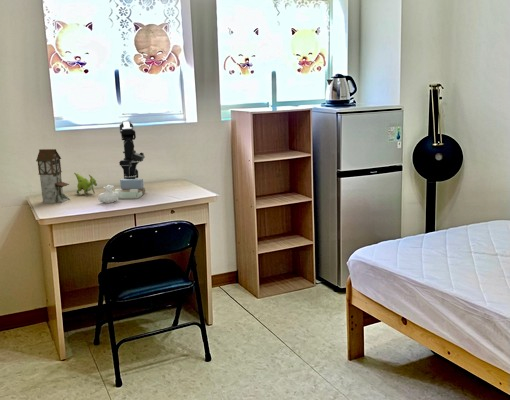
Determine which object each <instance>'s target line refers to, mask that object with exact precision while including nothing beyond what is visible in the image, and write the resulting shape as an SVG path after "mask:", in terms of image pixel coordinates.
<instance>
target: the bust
mask: <svg viewBox="0 0 510 400" xmlns="http://www.w3.org/2000/svg"><path fill="white" fill-rule="evenodd" d="M102 187H103V189H105V192H101V193H99V194H98V195H97V198H98V200H99V202H100V203H107V204H112V203H114V202H115V201H118V200H119V199H118V198H119V193H118V192H114V188H115V186H114V185H111V184H107V185H106V186H102Z"/></svg>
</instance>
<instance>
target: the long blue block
mask: <svg viewBox="0 0 510 400" xmlns="http://www.w3.org/2000/svg"><path fill="white" fill-rule="evenodd" d="M119 182H120V183H119V184H120V189H143V188H145V187H144V179H143V178H135V179H124V178H123V179H120V180H119Z"/></svg>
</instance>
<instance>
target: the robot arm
mask: <svg viewBox="0 0 510 400" xmlns="http://www.w3.org/2000/svg"><path fill="white" fill-rule="evenodd" d="M119 134H120V135H121V141H123V151H122V153H123V154H124V158H123V159H121V160H120V161H119V166H120V167H121V169H122V170H123V179H139V170H138V169H137V166H138V164H139V163H140V162H141V163H142V162H143V161H144V159H145V157H146V156H145V154H144V152H140V153H137V152H136V150H135V143H134V140H136V138H137V137H136V131H135V129H134V124H133V123H131V120H122V121H121V123H120V124H119Z"/></svg>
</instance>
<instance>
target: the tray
mask: <svg viewBox="0 0 510 400" xmlns="http://www.w3.org/2000/svg"><path fill="white" fill-rule="evenodd" d="M118 193H119V198H118V200H124V199H125V200H130V199H131V200H135V199H136V200H137V199H139V198H141V197H143V194H142V191H141V192H140V193H138V194H137V192H118Z"/></svg>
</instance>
